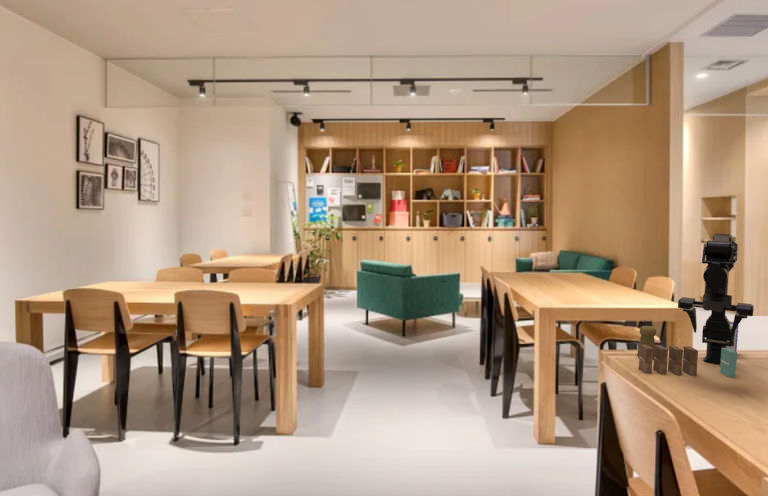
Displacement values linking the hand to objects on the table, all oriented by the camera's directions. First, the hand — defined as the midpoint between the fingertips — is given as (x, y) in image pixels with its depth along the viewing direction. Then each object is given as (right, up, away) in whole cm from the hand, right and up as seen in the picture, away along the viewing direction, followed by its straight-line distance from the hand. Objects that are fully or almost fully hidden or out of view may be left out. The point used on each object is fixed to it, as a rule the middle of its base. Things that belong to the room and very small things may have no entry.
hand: (713, 334), depth 156 cm
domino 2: (-10, -14, +11) cm, 20 cm away
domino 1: (-15, -14, +11) cm, 23 cm away
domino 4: (-1, -14, +10) cm, 17 cm away
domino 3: (-6, -14, +10) cm, 18 cm away
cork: (-6, -13, +27) cm, 31 cm away
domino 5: (+10, -14, +9) cm, 20 cm away
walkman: (+26, -13, +31) cm, 43 cm away
